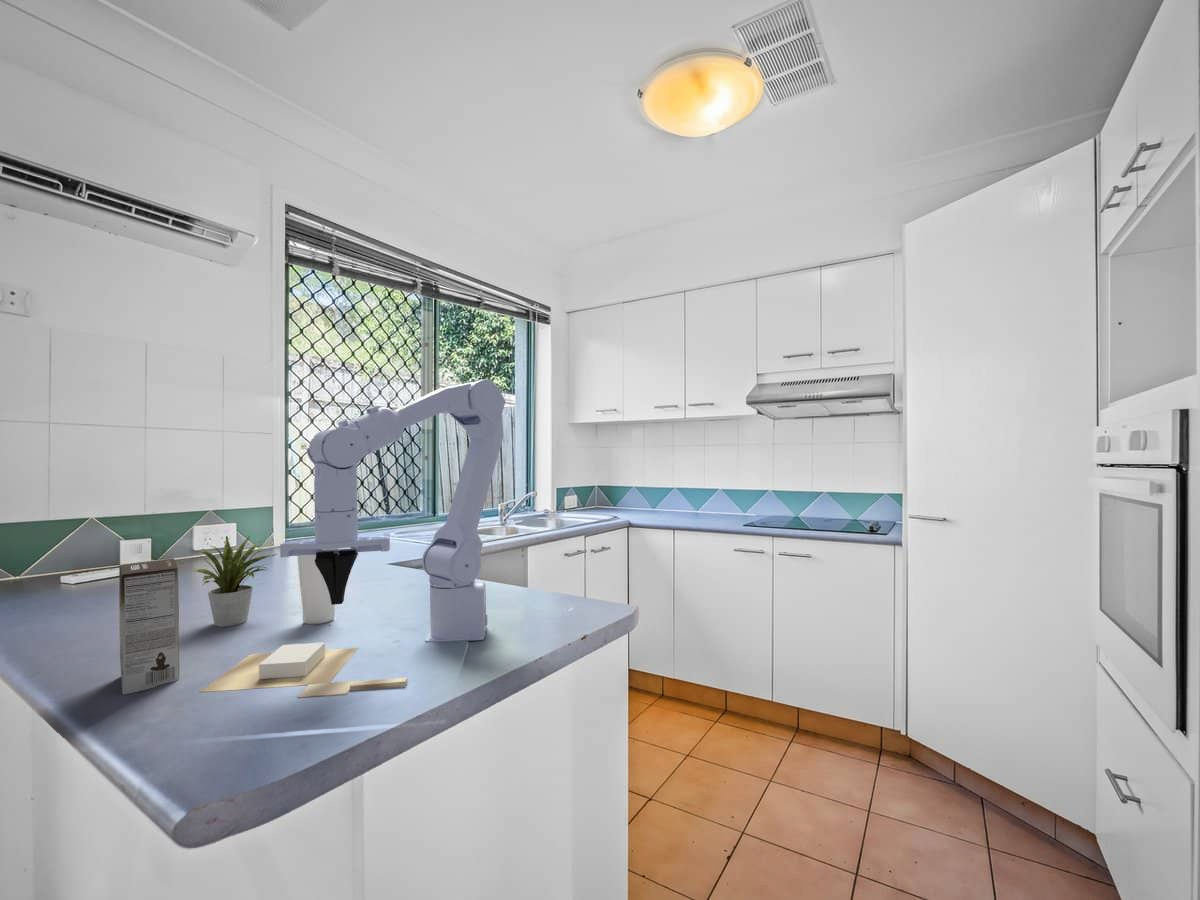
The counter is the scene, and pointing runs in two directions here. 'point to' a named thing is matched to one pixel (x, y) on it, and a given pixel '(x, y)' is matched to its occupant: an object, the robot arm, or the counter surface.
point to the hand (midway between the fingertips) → (337, 602)
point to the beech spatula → (350, 687)
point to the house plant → (231, 584)
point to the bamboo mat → (248, 678)
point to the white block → (292, 660)
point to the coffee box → (149, 624)
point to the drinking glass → (314, 592)
